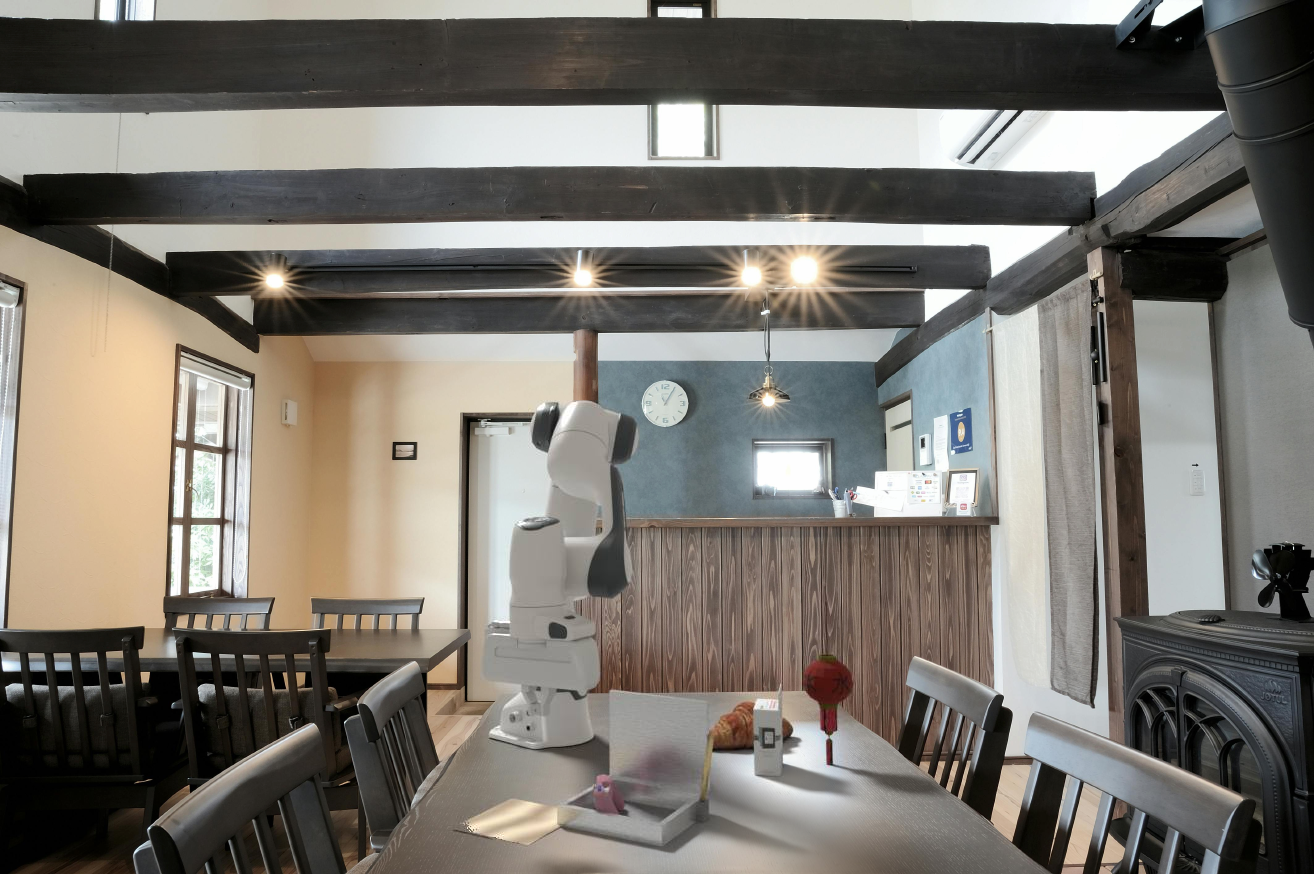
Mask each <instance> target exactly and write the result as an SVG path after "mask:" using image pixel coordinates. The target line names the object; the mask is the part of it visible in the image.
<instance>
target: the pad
mask: <svg viewBox="0 0 1314 874" xmlns="http://www.w3.org/2000/svg"><path fill="white" fill-rule="evenodd" d="M467 821H468V822H469V824H468V822H467ZM464 822H466V824H467V825H469V826H468V827H469V828H470V829H471V830H472V831H473V829H474V831H473V833H477V834H480V835H484V836H488V837H496V838H497V839H496V840H500V839H502V840H501V841H504V840H505V841H506V842H509V843H513V842H515V843H514V844H517V842H519V844H518V845H521V846H522V845H523V846H526V845H527V847H528V846H530V845H532V844H533V843H535V842H537V841H538V840H541V839H542V838H544V837H546V836H548V835H549V834H551V833H553V832H555V831H556V830H558V829H560V828H561V827H564V826H563V825H561V824H557V806H552V805H546V804H541V803H536V802H532V801H528V800H527V801H526V800H521V799H519V798H518V799H517V798H513V797H511V798H510V799H507V800H505V801H504V802H502V803H499V804H498V805H495V806H493V807H491V808H489V809H487V810H485V811H483V812H482V813H479V814H478V815H475V816H473V817H471V818H469V819H466V820H465V821H463V822H461V823H460V824H462V823H463V824H464V825H465V823H464ZM470 826H471V827H470ZM468 827H467V829H468ZM476 829H477V830H476ZM469 831H470V830H469ZM470 832H471V831H470ZM498 837H499V838H498ZM505 841H504V842H505Z"/></svg>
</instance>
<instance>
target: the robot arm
mask: <svg viewBox="0 0 1314 874" xmlns="http://www.w3.org/2000/svg"><path fill="white" fill-rule="evenodd" d="M637 425H638V423H637V422H636V420H635V418H634V417H632V416H631V415H628V414H625V413H623V412H619V413H617V412H615V411H612V410H609V409H605V408H603V407H602V406H601V405H599V404H598V403H596V402H594V401H590V400H577V401H573V402H571V403H570V404H569V403H559V402H558V401H549V402H547V401H546V402H543V403H542V404H540V405H539V406H538V407H537V409H536V411H535V412H534V413H533V415H532V418H531V421H530V426H529V427H530V429H529V430H530V433H529V434H530V437H531V443H532V444H533V445H534V447H535V449H537V450H539V451H541V452H544V453H547V457H546V468H547V473H548V475H549V477H550V479H551V480H550V485H549V491H548V497H547V500H546V501H547V502H546V508H545V514H544V516H534V517H533V516H532V517H530V518H529V517H528V518H523V519H520V520H519V521H518V522H516V523H515V524H514V525H513V529H512V532H511V533H512V534H511V540H510V549H509V562H508V563H509V564H508V573H509V574H508V575H509V577H508V578H509V581H510V584H511V595H510V599H509V603H508V604H509V606H508V607H509V610H508V611H509V616H508V617H509V619H508V620H509V621H500V620H493V621H492V622H490V623H489V624H488V625H487V626H486V627H485V629H484V642H483V647H482V653H481V654H482V655H481V664H480V665H481V666H480V675H481V676H482V678H483V680H484V681H486V682H491V683H493V682H494V683H500V684H501V683H502V684H503V683H504V684H512V685H521V686H520V687H521V688H520V689H521V691H520V692H519V693H517V695H515V696H514V697H513V698H511V699H510V700H509V701H508V702H507V703H505V705H504V706H503V708H502V710H501V711H502V712H501V715H500V723H499V725H498V726H494V728H492V729H490V731H489V733H488V737H489V738H491V739H495V740H499V741H503V742H506V743H510V744H512V745H517V746H521V747H524V748H527V749H532V750H538V749H539V750H540V749H546V748H554V747H555V748H557V747H558V748H559V747H567V746H568V747H569V746H575V745H580V744H584V743H586V742H588V741H591V740H592V739H593V738H594V736H595V735H594V732H593V728H592V725H591V720H590V714H589V706H588V691H589V690H592V689H594V688H596V686H597V685H599V684H598V683H599V682H600V679H601V666H600V654H599V647H598V644H597V642H596V640H595V639H594V638H593V637H591V636H594V635H595V633H596V630H597V629H596V628H597V627H596V623H595V621H593V620H592V619H589V618H586V617H585V616H582V615H580V614H578V613H576V610H575V605H574V604H575V601H580V600H583V599H585V598H587V597H592V598H600V599H601V598H603V599H615V598H616V597H618V596H619V595H620V594H621V593H623V592H624V591H625V590H626V589H627V588H628V587H629V586H630V584H631V579H632V574H633V562H632V556H631V552H630V548H629V541H628V528H627V525H628V524H627V515H626V512H627V511H626V502H625V500H626V499H625V493H624V492H625V490H624V484H623V480H622V476H621V473H620V471H619V469H618V467H616V465H622V464H623V465H624V464H625V463H627V462H628V461H630V460H631V458H632V456H633V455H634V453H635V452H636V450H637V447H638V446H639V437H640V435H639V430H638V426H637ZM600 507H601V508H600ZM599 509H601V528H602V530H601V532H600V533H599V534H597V535H596V533H597V532H596V531H597V530H596V528H597V519H598V514H599Z"/></svg>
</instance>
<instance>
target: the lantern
mask: <svg viewBox="0 0 1314 874" xmlns="http://www.w3.org/2000/svg"><path fill="white" fill-rule="evenodd" d="M827 602H828V601H825V603H824V604H825V606H824V607H825V638H826V640H825V644H826V645H825V647H826V649H825V650H826V651H825V652H826V653H822V654H821V653H819V654H818V655H817V656H818V657H817V659H816V660H814V661H812V662H811V663H809V664H808V666H807V667H806V669H805V670H804V673H803V678H802V683H803V688H804V691H805V692H806V694H807V695H808V696H809V698H810V699H812V700H814V701H815V702H817V704H818V706H819V719H820V720H819V725H820V728H819V729H820V731H821V732H824V733H825V735H826V736H828V738H826V740H825V749H826V750H825V753H826V754H825V755H826V756H825V757H826V759H825V762H826V765H829V766H832V765H834V749H833V747H834V746H833V742H834V741H833V740H832V738H831V736H832V735H833V734H834V733H835V732H837V731H838V706H839V704H840V703H841V702H843V701H845V700H847V699H848V697H849V696H850V694H851V693H853V692H852V691H853V686H854V681H853V677H852V672H851V670H850V669H849V668H848V667H847V666H846V664H845V663H843V662H840V661H839V660H838V658H837V655H835V654H832V653H829V649H828V648H829V647H828V645H829V643H828V608H827V607H828V605H827Z"/></svg>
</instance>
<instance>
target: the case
mask: <svg viewBox="0 0 1314 874" xmlns="http://www.w3.org/2000/svg"><path fill="white" fill-rule="evenodd" d="M709 730H710V701H709V700H703V699H702V700H701V699H696V698H695V699H694V698H685V697H677V696H669V695H659V694H652V693H645V692H634V691H626V690H619V689H610V690H609V775H611V778H612V779H613V781H614V783H615V786H616V788H617V790H618V791H619V793H620V794H621V796H622V797H623V799H624V802H630V803H635V804H640V805H646V806H651V807H656V808H662V809H668V810H673V812H672V813H670V814H669V815H668V816H667V817H666V818H663V820H661V821H659V822H656V821H652V820H650V821H649V820H647V819H646V820H645V819H641V818H635V817H630V816H627V815H622V814H620V815H617V814H612V813H607V812H602V811H597V810H596V808H595V804H594V791H593V785H592V786H590V787H588V788H586V789H584V790H582V791H581V792H578V793H577V794H575V795H573V796H572V797H570V798H568V799H566V800H564V801H562V802H561V803H558V804H557V805H556V807H557V824H561V825H563V826H562V827H565V828H570V829H575V830H580V831H583V832H589V833H593V834H599V835H603V836H607V837H612V838H618V839H622V840H627V841H628V840H629V841H633V842H637V843H641V844H648V845H652V846H658V847H664V846H665V845H666V844H667V843H670V842H671V841H672V840H673V839H675V838H676V837H677V836H679V835H680V834H681V833H683V832H685V830H687V829H688V828H690V827H691V826H692V825H694V824H695V823H701V824H704V823H705V822H707V821H708V820H709V819H710V812H709V811H710V799H709V798H708V794H709V793H710V792H711V764H712V757H713V750H714V749H713V743H714V735H713V734H709ZM594 785H596V783H595V784H594Z"/></svg>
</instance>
